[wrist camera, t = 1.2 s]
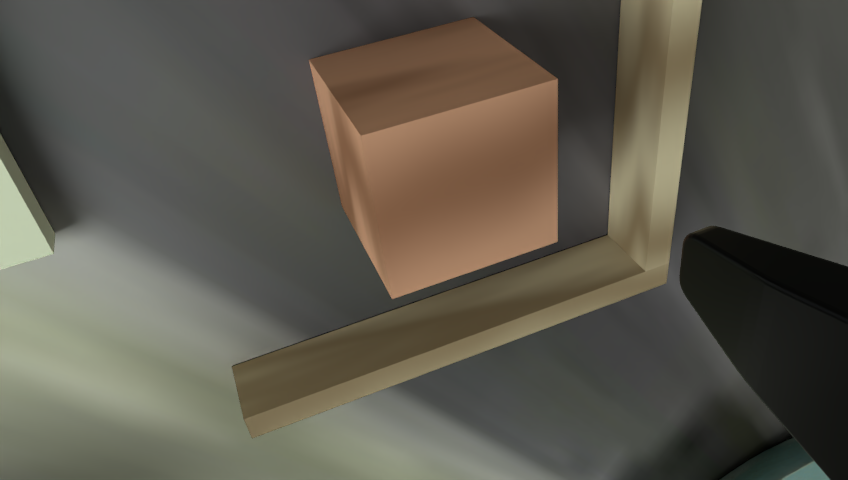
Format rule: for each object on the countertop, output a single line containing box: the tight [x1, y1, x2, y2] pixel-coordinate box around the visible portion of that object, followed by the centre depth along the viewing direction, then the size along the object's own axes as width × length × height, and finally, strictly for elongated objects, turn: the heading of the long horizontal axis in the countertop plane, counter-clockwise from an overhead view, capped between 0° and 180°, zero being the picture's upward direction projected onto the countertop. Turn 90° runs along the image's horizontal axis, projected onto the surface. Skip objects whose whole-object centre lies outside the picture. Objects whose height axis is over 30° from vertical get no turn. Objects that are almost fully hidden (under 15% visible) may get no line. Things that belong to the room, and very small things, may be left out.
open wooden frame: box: [232, 0, 702, 438], centre depth 21 cm, size 17×16×2 cm
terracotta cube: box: [309, 17, 558, 299], centre depth 20 cm, size 5×5×5 cm
